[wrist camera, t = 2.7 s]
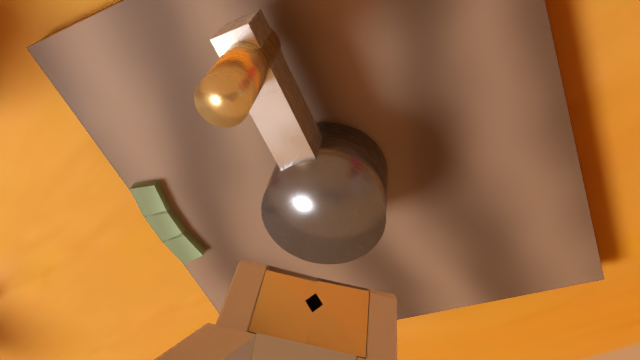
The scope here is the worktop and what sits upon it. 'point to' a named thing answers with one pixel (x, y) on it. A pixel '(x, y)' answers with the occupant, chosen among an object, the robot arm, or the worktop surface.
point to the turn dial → (297, 149)
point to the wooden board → (358, 112)
